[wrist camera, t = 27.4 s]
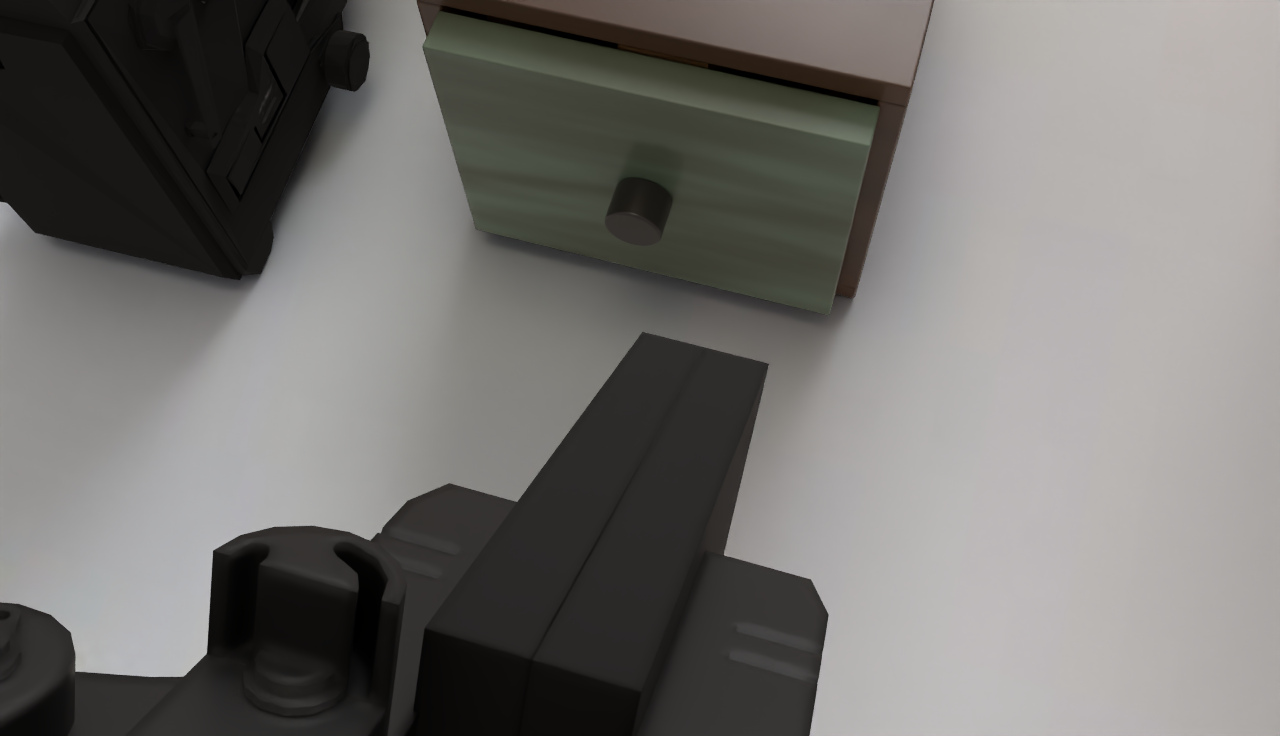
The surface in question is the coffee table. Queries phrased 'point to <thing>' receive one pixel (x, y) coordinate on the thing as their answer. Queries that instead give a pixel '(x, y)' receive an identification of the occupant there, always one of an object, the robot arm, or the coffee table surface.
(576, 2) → the cabinet
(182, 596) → the coffee table surface
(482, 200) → the drawer
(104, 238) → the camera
